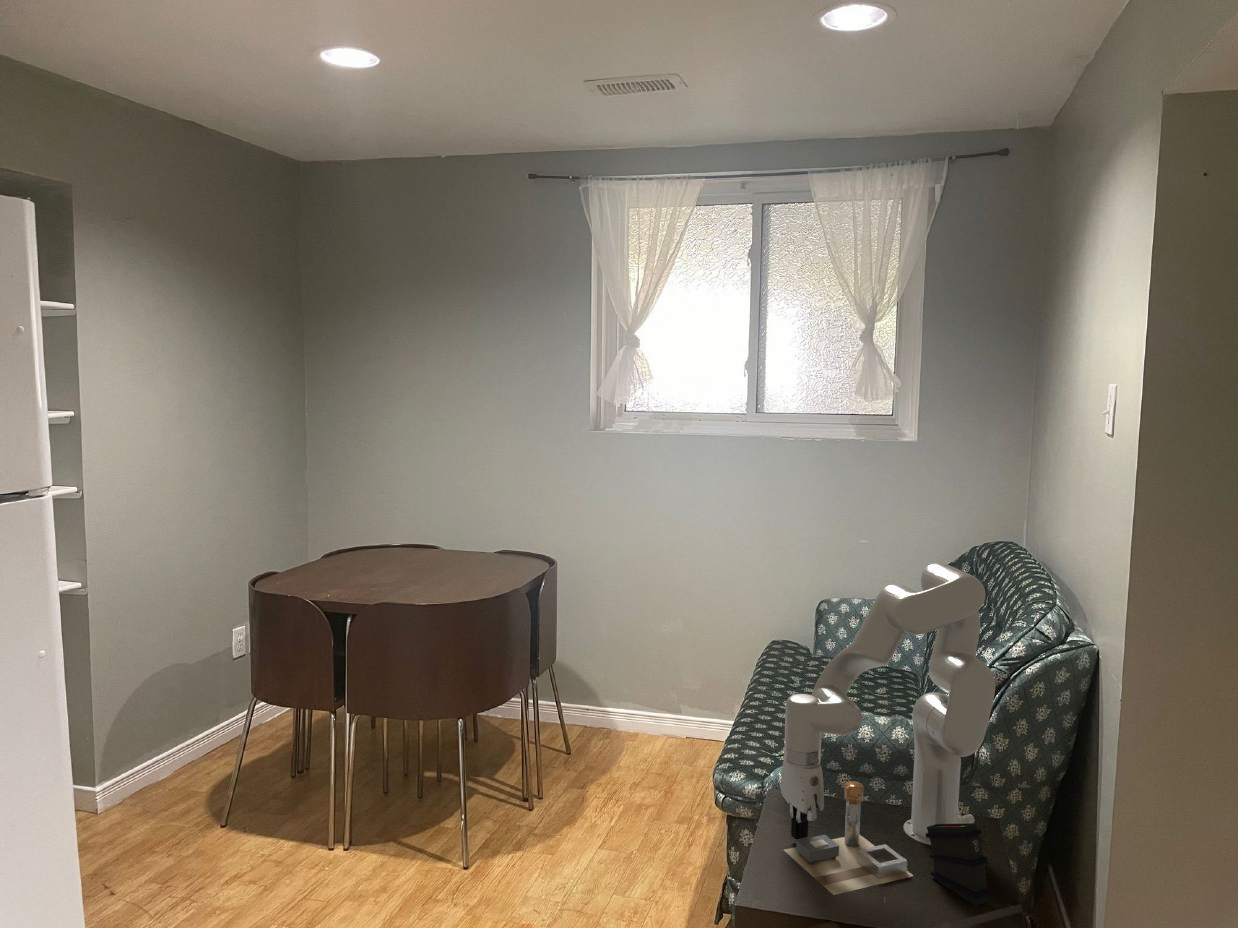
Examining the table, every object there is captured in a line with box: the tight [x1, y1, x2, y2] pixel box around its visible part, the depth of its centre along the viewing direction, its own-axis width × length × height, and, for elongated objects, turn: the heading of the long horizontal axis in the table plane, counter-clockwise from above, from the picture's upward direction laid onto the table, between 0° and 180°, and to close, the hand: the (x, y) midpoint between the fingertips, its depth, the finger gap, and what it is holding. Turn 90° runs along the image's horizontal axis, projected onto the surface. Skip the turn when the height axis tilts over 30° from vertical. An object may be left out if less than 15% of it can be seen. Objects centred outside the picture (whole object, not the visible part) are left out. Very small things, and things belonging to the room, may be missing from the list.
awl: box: [844, 780, 864, 847], centre depth 200 cm, size 4×4×13 cm
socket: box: [857, 844, 908, 879], centre depth 191 cm, size 7×7×2 cm
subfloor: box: [783, 833, 914, 896], centre depth 193 cm, size 19×18×1 cm
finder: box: [795, 834, 839, 864], centre depth 195 cm, size 7×5×3 cm
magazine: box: [926, 822, 991, 906], centre depth 184 cm, size 4×13×15 cm, turn 27°
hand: (799, 836), depth 201 cm, fingers closed
